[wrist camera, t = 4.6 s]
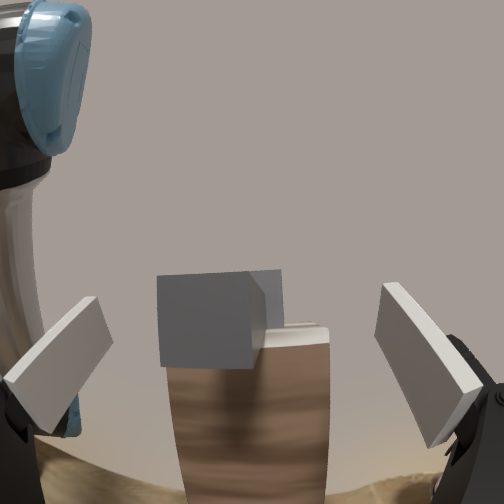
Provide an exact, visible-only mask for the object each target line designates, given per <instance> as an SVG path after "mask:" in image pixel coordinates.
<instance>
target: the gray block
mask: <svg viewBox="0 0 504 504" xmlns="http://www.w3.org/2000/svg"><path fill="white" fill-rule="evenodd" d="M157 310H158V311H157V312H158V334H159V350H160V362H161V367H173V368H193V369H253V368H254V365H255V362H256V359H257V356H258V353H259V350H260V347H261V344H262V342H263V339H264V336H265V332H266V329H278V328H284V312H283V294H282V276H281V270H265V271H243V272H228V273H227V272H226V273H207V274H188V275H187V274H186V275H164V276H157Z"/></svg>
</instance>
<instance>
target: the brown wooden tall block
mask: <svg viewBox="0 0 504 504" xmlns="http://www.w3.org/2000/svg"><path fill="white" fill-rule="evenodd" d="M166 370H167V381H168V390H169V399H170V407H171V414H172V422H173V429H174V435H175V442H176V447H177V452H178V458H179V463H180V469H181V474H182V478H183V483H184V488H185V492H186V496H187V500H188V504H324V499H325V489H326V477H327V465H328V464H327V463H328V449H329V425H330V348H329V329H328V328H325V327H323V326H320V325H318V324H315V323H313V322H299V323H285V324H284V328H278V329H266V332H265V336H264V339H263V342H262V344H261V347H260V350H259V353H258V356H257V359H256V362H255V365H254V368H253V369H193V368H173V367H166Z"/></svg>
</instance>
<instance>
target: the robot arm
mask: <svg viewBox="0 0 504 504" xmlns="http://www.w3.org/2000/svg"><path fill="white" fill-rule="evenodd" d="M91 37H92V23H91V17H90V15H89V13H88V11H87V10H86V9H85V8H84V7H83V6H81V5H79V4H75V3H64V2H47V1H45V0H34V1H33V2H25V3H17V4H10V5H3V6H0V504H45V500H44V496H43V492H42V487H41V483H40V478H39V472H38V466H37V460H36V452H35V444H34V435H42V436H54V437H61V438H66V437H77V436H79V435H80V434H81V429H82V428H81V418H80V412H79V411H80V410H79V398H78V392H79V390H80V389H81V388H82V386H83V385H84V383H85V382H86V380H87V379H88V377H89V376H90V375H91V373H92V372H93V370H94V369H95V367H96V366H97V365H98V363H99V362H100V360H101V359H102V358H103V356H104V355H105V353H106V352H107V351H108V349H109V348H110V346H111V345H112V344H113V340H112V338H111V335H110V332H109V330H108V327H107V324H106V322H105V319H104V316H103V313H102V310H101V307H100V305H99V301H98V298H97V297H88V296H86V297H85V298H84V299H82V300H81V301H80V302H79V303H78V304H77V305H76V306H75V307H74V308H72V309H71V310H70V311H69V312H68V313H67V314H66V315H65V316H64V317H63V318H62V319H61V320H60V321H58V322H57V323H56V324H55V325H54V326H53V327H52V328H51V329H50V330H49V331H48V332H47V333H46V334H45V332H44V328H43V323H42V318H41V313H40V307H39V301H38V295H37V288H36V280H35V271H34V260H33V244H32V194H33V189H34V188H35V187H36V186H37V185H38V184H39V183H40V182H41V181H42V180H43V179H44V178H45V177H46V176H47V175H48V174H49V172H50V167H51V159H52V156H56V155H58V154H61V153H63V152H65V151H66V150H67V149H68V147H69V145H70V144H71V141H72V138H73V135H74V131H75V127H76V121H77V116H78V114H79V110H80V106H81V100H82V95H83V89H84V83H85V78H86V73H87V67H88V60H89V54H90V47H91ZM374 336H375V338H376V340H377V342H378V343H379V346H380V347H381V349H382V351H383V353H384V355H385V357H386V359H387V361H388V363H389V365H390V367H391V369H392V371H393V373H394V375H395V377H396V379H397V381H398V383H399V385H400V387H401V389H402V391H403V393H404V396H405V398H406V400H407V402H408V404H409V406H410V408H411V411H412V413H413V415H414V417H415V420H416V421H417V424H418V427H419V429H420V431H421V434H422V436H423V438H424V441H425V443H426V445H427V448H428V449H429V448H432V447H434V446H437V445H439V444H442V443H444V442H447V440H448V439H449V438H450V436H451V435H452V433H453V432H455V434H456V436H457V439H456V440H455V442H454V443H453V444H452V445H451V447H450V448H449V449H448V450H447V452H446V453H445V456H447V455H448V454H449V453H450V452H451V454H450V457H449V460H448V462H447V465H446V468H445V470H444V473H443V475H442V478H441V480H440V482H439V485H438V487H437V489H436V491H435V494H434V496H433V498H432V500H431V502H430V504H504V383H499V384H496V383H495V382H494V381H493V379H492V378H491V377H490V376H489V374H488V373H487V372H486V370H485V369H484V368H483V366H482V365H481V364H480V363H479V361H478V360H477V359H476V358H475V357H474V355H473V354H472V353H471V351H469V349H468V348H467V347H466V345H465V344H464V343H463V342H462V341H461V340H459V339H458V338H456V337H455V336H453V335H452V334H450V335H447V336H445V335H444V334H443V332H442V331H441V330H440V329H439V328H438V326H437V325H436V324H435V323H434V322H433V321H432V319H430V317H429V316H428V315H427V314H426V313H425V311H424V310H423V309H422V308H421V307H420V306H419V305H418V304H417V302H416V301H415V300H414V299H413V298H412V297H411V296H410V295H409V294H408V293H407V292H406V291H405V289H403V287H402V286H401V285H400V284H399V283H398V282H393V283H384V284H382V290H381V298H380V305H379V311H378V318H377V324H376V330H375V335H374Z"/></svg>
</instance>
